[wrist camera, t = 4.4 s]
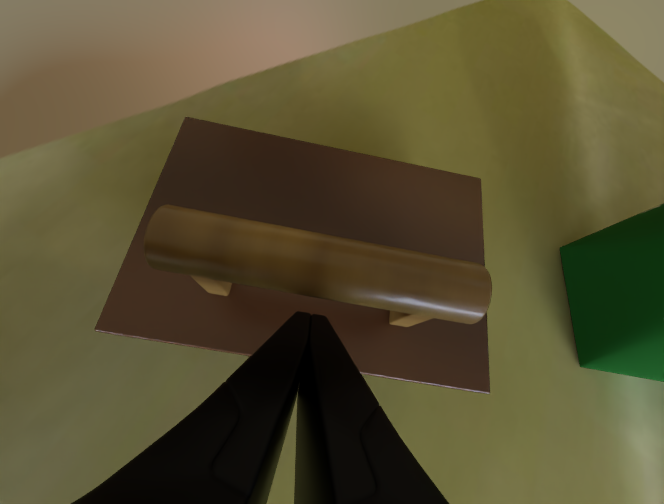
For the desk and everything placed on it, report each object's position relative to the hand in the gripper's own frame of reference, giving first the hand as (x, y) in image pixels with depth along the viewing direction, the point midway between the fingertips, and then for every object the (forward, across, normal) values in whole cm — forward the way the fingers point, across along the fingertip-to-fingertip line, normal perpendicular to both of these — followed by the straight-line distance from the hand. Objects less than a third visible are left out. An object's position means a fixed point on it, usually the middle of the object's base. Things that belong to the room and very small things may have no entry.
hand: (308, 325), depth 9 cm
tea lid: (+4, 0, -1) cm, 4 cm away
